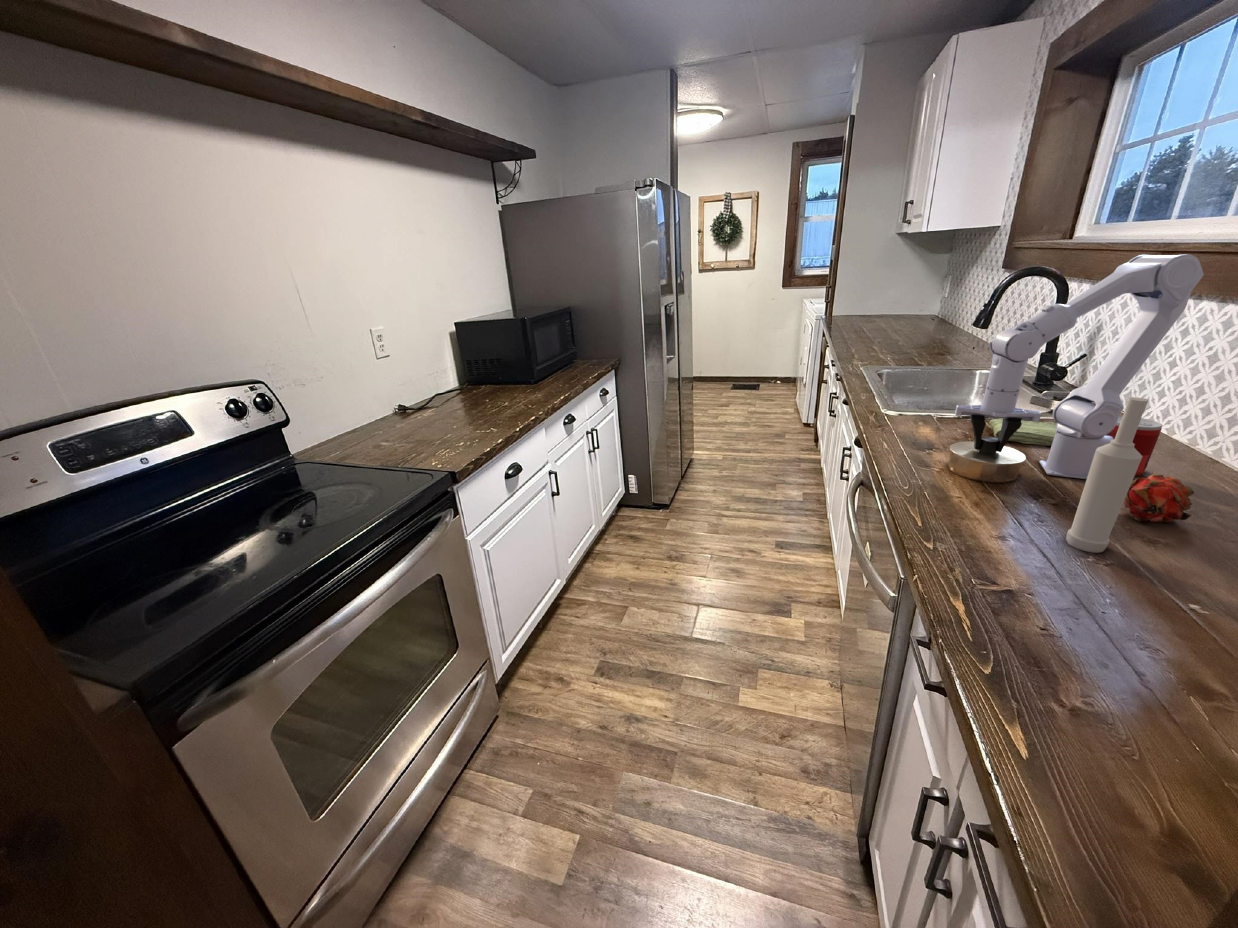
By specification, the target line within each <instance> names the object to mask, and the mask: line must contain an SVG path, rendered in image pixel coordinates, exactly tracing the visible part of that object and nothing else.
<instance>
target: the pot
mask: <svg viewBox="0 0 1238 928" xmlns="http://www.w3.org/2000/svg"><path fill="white" fill-rule="evenodd" d="M1021 467H1022V464H1020V465H1016V466H991V465H984V464H978V463H974V462H970V461H966V460H964V459H961V458H959V457H956V456H955V455H953V454H952V453H951V452H950V455H949V459H948V469H949V471H951V472H952V473H954V474H955V475H958V476H961V477H963V478H966V479H970V480H973V481H978V482H985V483H995V484H997V483H998V484H1000V483H1001V484H1002V483H1003V484H1004V483H1009V482H1013V481H1015V480H1016V479H1017V478H1018V476H1019V473H1020V470H1021Z"/></svg>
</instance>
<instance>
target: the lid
mask: <svg viewBox="0 0 1238 928" xmlns="http://www.w3.org/2000/svg"><path fill="white" fill-rule="evenodd" d="M998 444H999V439H997V438H995V436H982V437H981V443H980V448H979V450H976V449H975V448H974V441H973V440H972V441H971V440H970V441H967V440H966V441H959V442H954V443H952V444H950V446H949V453H950V454H951V453H952V454H953V455H955V456H956V457H959V458H961V459H964V460H966V461H970V462H974V463H978V464H984V465H991V466H1016V465H1020V464H1021V465H1023V464H1025V462H1026V460H1027V456H1026V455H1025V454H1024V453H1023V452H1022V451H1019V450H1018V449H1015V448H1012V447H1010V446H1006V445H1004V447H1003V449H1002V451H1001V452H997V448H998Z"/></svg>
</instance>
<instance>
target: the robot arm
mask: <svg viewBox="0 0 1238 928" xmlns="http://www.w3.org/2000/svg"><path fill="white" fill-rule="evenodd" d="M1203 277H1204V271H1203V267H1202V265H1201V262H1200V260H1199V258H1198V257H1197V256H1195V255H1193V254H1187V253H1186V254H1178V255H1175V254H1172V255H1171V254H1170V255H1168V254H1167V255H1165V254H1163V255H1162V254H1161V255H1159V254H1158V255H1157V254H1156V255H1155V254H1153V255H1152V254H1140V255H1137V256H1134V257H1132V258H1131V259H1129V260H1128V261H1127V262H1125V263H1121V264H1120V265H1118V266H1117V267H1116V269H1115V270H1114V271H1113V272H1112V273H1111V274H1109V275H1107V276H1106V277H1105V278H1104V279H1101V280H1100V281H1099V282H1097V283H1096V284H1094V285H1093V286H1091V287H1090V288H1088V289H1087V290H1085V291H1083V292H1082V293H1081V294H1079V295H1078V296H1076V297H1074V298H1072V299H1071V300H1070V301H1068V302H1067V303H1065V304H1063V303H1054V304H1052V305H1051V304H1047V305H1045V306H1044V307H1042V308H1041V311H1040V312H1039V313H1037V314H1035V315H1033V316H1032V317H1029V319H1027V320H1025V321H1020V322H1018V323H1017V324H1016V327H1014V328H1007V329H1004V330H1002V331H1000V332H999V333H997V334H996V335H995V337H994V338H993V340H992V341H990V342H989V345H988V346H989V351H990V353H991V354H992V358H991V365H990V370H989V373H988V376H987V377H988V378H987V381H986V382H987V383H986V386H985V390H984V394H983V398H982V403H981V404H956V406H955V411H954V414H955V416H956V417H962V416H966V417H969V419H970V421H971V425H972V431H973V436H974V437H973V438H974V439H973V440H974V448H975V449H976V450H979V448H980V443H981V437H983V434H984V430H985V428H986V425H987V422H986V418H992V419H999V418H1000V419H1002V418H1003V422H1002V427H1001V432H1000V436H999V444H998V448H997V452H1001V451H1002V449H1003V447H1004V446H1006V444H1007V442H1009V441H1008V440H1009V438H1010V437H1011V436H1012V435H1013V434H1014V433H1015V432H1016V431H1017V430H1018V429H1019V428H1020V427H1021V425H1022V423H1021V421H1032V422H1040V420H1041V416H1042V412H1041V411H1040V410H1034V409H1026V408H1019V407H1016V406H1017V402H1018V398H1019V395H1020V391H1021V387H1022V383H1023V380H1024V376H1025V373H1026V370H1027V369H1026V368H1027V365H1028V361H1029V360H1030V359H1033V358H1034V357H1035V356H1036V355H1037V354H1038V352H1039V350H1040V348H1041V347H1042V346H1044V345H1045V344H1046V343H1049V342H1050V341H1052V340H1054V339H1055V338H1057V337H1059V336H1060V335H1063V334H1064V333H1065V332H1068V331H1070V330H1071V329H1073V328H1074V327H1075V325H1076V323H1077V320H1078V318H1080V317H1082V316H1084V315H1086V314H1088V313H1090V312H1092V311H1094V310H1096V309H1097V308H1099V307H1101V306H1104V305H1105V304H1107V303H1109V302H1111V301H1113V300H1115V299H1116V298H1119V297H1120V296H1122V295H1126V294H1129V295H1131V296H1132V297H1133V298H1134V299H1135V300H1136V302H1137V304H1138V306H1139V309H1140V310H1139V312H1138V314H1137V315H1136V316H1135V318H1134V319H1133V320H1132V322H1131V324H1129V326H1128V327H1127V329H1126V330H1125V331H1124V333H1123V334H1122V335H1121V336H1120V338H1119V339H1118V340H1117V343H1116V344H1115V345H1114V346H1113V348H1112V349H1111V351H1109V353H1108V355H1107V356H1106V357H1105V359H1104V360H1103V361H1102V363H1101V364H1100V365H1099V367H1098V368H1097V370H1095V372H1094V374H1093V375H1092V376H1091V378H1090V379H1089V381H1088V382H1087V383H1086V384H1084V385H1081V386H1079V387H1077V388H1074V389H1072V390H1071V391H1070V393H1069V394H1068V395H1067V396H1066V397H1065V398H1064V399H1062V400H1060V401H1059V402H1058V403H1057V404H1055V406H1054V408H1053V410H1052V419H1053V421H1054V423H1056V428H1057V430H1056V433H1055V436H1054V440H1053V443H1052V446H1051V447H1050V450H1049V453H1048V457H1047V459H1046V460H1044V459H1043V460H1042V459H1040V460H1039V464H1040V465H1041V467H1042V469H1044V472H1045V473H1046V475H1048V476H1054V477H1064V478H1072V479H1082V480H1087V477H1088V474H1089V471H1090V467H1091V464H1092V461H1093V458H1094V455H1095V452H1096V449H1097V448H1099V447H1101V446H1104V445H1106V444H1109V443H1110V441H1111V440H1114V439H1113V437H1111V436H1107V434H1108V433H1110V432H1111V431H1112V430H1113V429H1114V428H1115V426H1116V424H1117V420H1118V417H1120V414H1121V413H1122V411H1123V410H1125V408H1124V404H1123V401H1122V399H1121V394H1122V393H1123V391H1124V390H1125V388H1127V386H1128V385H1129V383H1130V382H1131V380H1132V379H1133V378H1134V377H1135V375H1136V374H1137V373H1138V371H1139V370H1140V369H1141V367H1142V366H1143V365H1144V364H1145V362H1146V361H1148V359H1149V357H1150V356H1151V355H1152V354H1153V352H1154V351H1155V349H1156V348H1157V347H1158V345H1159V344H1160V342H1161V341H1162V340H1163V339H1164V338H1165V336H1166V335H1167V334H1168V333H1169V331H1170V330H1171V329H1172V327H1173V326H1174V325H1175V323H1176V322H1177V321H1178V319H1179V318H1180V317H1181V315H1182V314H1183V313H1184V312H1185V310H1186V308H1187V305H1188V302H1189V300H1190V297H1191V293H1192V291H1193V290H1194V289H1195V287H1196V286H1197V285H1198V283H1199V282H1200V281H1201V280H1202V278H1203Z"/></svg>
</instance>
